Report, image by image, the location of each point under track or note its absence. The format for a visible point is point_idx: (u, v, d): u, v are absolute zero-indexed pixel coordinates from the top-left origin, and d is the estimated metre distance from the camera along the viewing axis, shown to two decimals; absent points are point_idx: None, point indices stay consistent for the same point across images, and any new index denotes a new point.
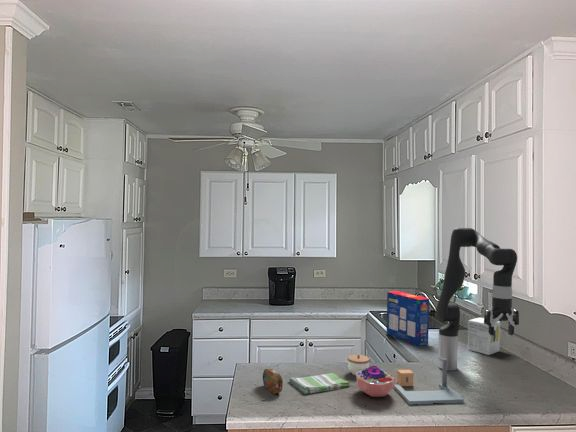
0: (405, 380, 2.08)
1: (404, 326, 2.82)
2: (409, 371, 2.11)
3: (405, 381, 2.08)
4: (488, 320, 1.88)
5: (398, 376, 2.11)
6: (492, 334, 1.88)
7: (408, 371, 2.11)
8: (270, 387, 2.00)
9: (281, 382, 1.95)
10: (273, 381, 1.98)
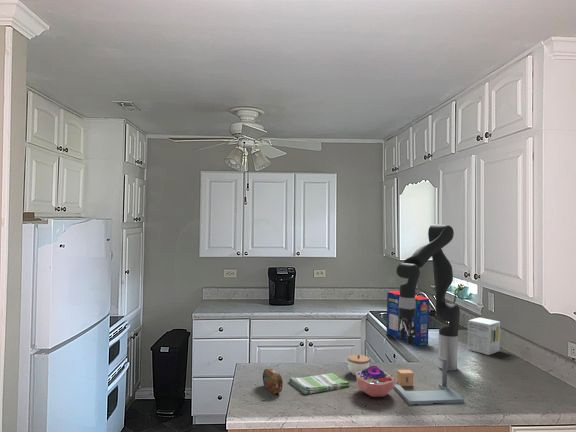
0: (405, 380, 2.08)
1: None
2: (409, 371, 2.11)
3: (405, 381, 2.08)
4: None
5: (398, 376, 2.11)
6: (412, 342, 2.06)
7: (408, 371, 2.11)
8: (270, 387, 2.00)
9: (281, 382, 1.95)
10: (273, 381, 1.98)
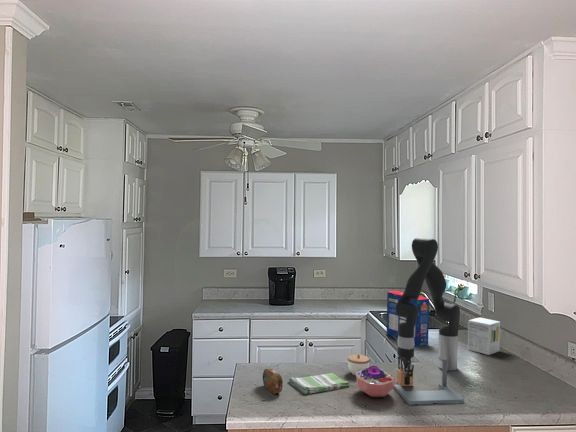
0: None
1: None
2: None
3: None
4: None
5: (398, 376, 2.11)
6: (409, 383, 2.08)
7: None
8: (270, 387, 2.00)
9: (281, 382, 1.95)
10: (273, 381, 1.98)
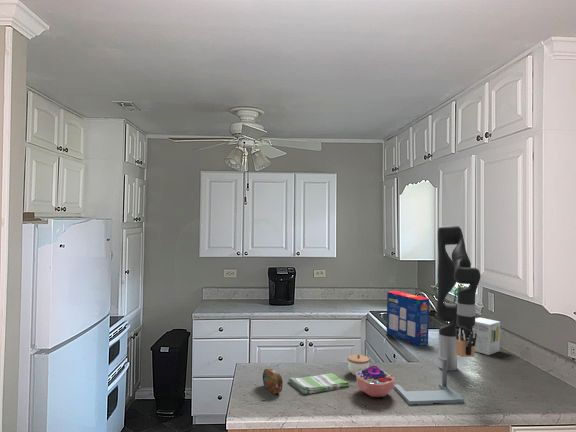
0: None
1: (404, 326, 2.82)
2: None
3: None
4: None
5: (457, 346, 1.96)
6: None
7: None
8: (270, 387, 2.00)
9: (281, 382, 1.95)
10: (273, 381, 1.98)
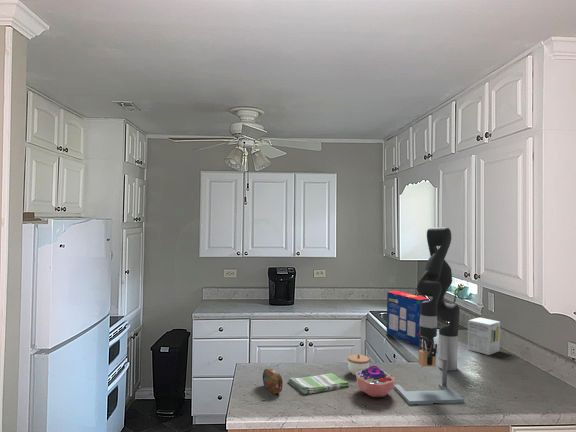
0: None
1: (404, 326, 2.82)
2: None
3: None
4: None
5: (420, 356, 2.04)
6: None
7: None
8: (270, 387, 2.00)
9: (281, 382, 1.95)
10: (273, 381, 1.98)
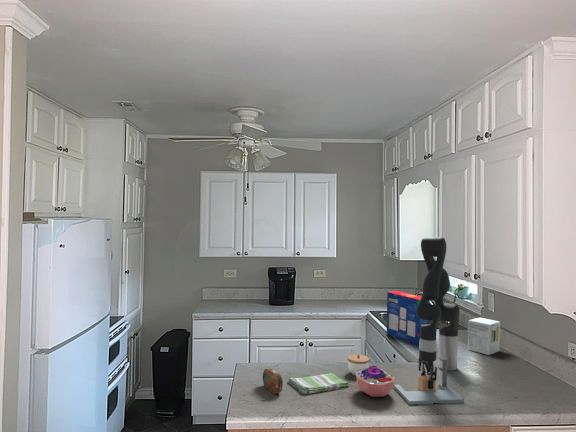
0: (427, 386, 2.01)
1: (404, 326, 2.82)
2: None
3: (427, 387, 2.02)
4: None
5: (419, 382, 2.04)
6: None
7: None
8: (270, 387, 2.00)
9: (281, 382, 1.95)
10: (273, 381, 1.98)
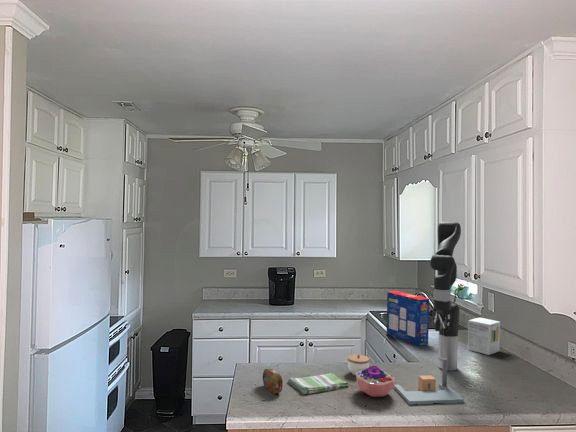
0: (427, 386, 2.01)
1: (404, 326, 2.82)
2: (431, 377, 2.04)
3: (427, 387, 2.02)
4: None
5: (419, 382, 2.04)
6: (448, 335, 2.05)
7: (430, 377, 2.04)
8: (270, 387, 2.00)
9: (281, 382, 1.95)
10: (273, 381, 1.98)
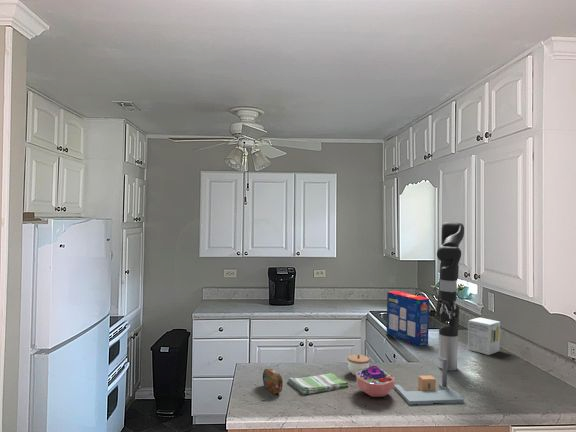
0: (427, 386, 2.01)
1: (404, 326, 2.82)
2: (431, 377, 2.04)
3: (427, 387, 2.02)
4: None
5: (419, 382, 2.04)
6: (454, 325, 2.07)
7: (430, 377, 2.04)
8: (270, 387, 2.00)
9: (281, 382, 1.95)
10: (273, 381, 1.98)
